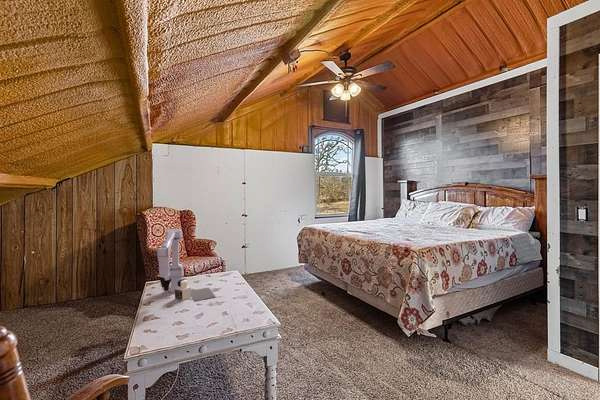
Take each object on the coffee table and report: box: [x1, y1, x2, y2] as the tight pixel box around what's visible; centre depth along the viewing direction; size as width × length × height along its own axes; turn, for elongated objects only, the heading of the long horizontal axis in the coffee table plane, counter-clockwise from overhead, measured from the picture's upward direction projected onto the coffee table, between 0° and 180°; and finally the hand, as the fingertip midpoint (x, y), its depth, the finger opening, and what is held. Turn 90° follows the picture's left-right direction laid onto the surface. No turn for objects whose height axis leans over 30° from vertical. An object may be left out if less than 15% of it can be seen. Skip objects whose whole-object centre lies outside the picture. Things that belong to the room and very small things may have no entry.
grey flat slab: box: [191, 287, 216, 302], centre depth 188 cm, size 20×13×1 cm, turn 30°
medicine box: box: [174, 278, 192, 302], centre depth 182 cm, size 7×7×12 cm
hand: (165, 288), depth 171 cm, fingers open, 7 cm apart
